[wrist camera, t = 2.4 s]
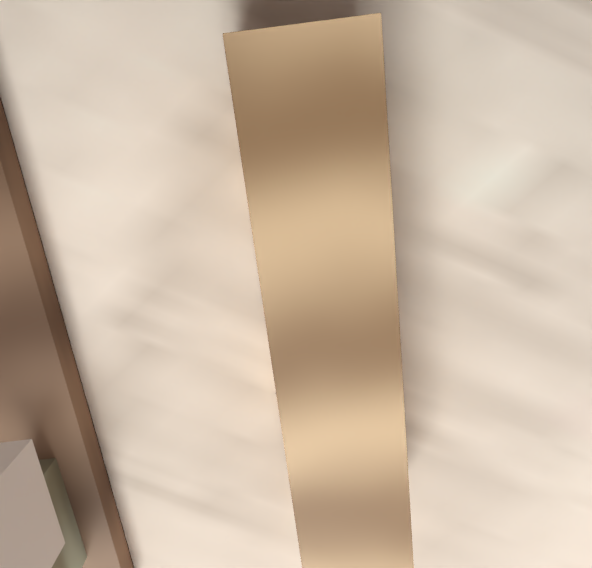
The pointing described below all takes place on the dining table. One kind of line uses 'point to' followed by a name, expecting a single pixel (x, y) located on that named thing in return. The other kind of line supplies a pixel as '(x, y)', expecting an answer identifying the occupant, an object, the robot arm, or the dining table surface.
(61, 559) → the cradle
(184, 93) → the dining table surface
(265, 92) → the slat
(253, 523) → the dining table surface
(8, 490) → the robot arm
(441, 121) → the dining table surface
